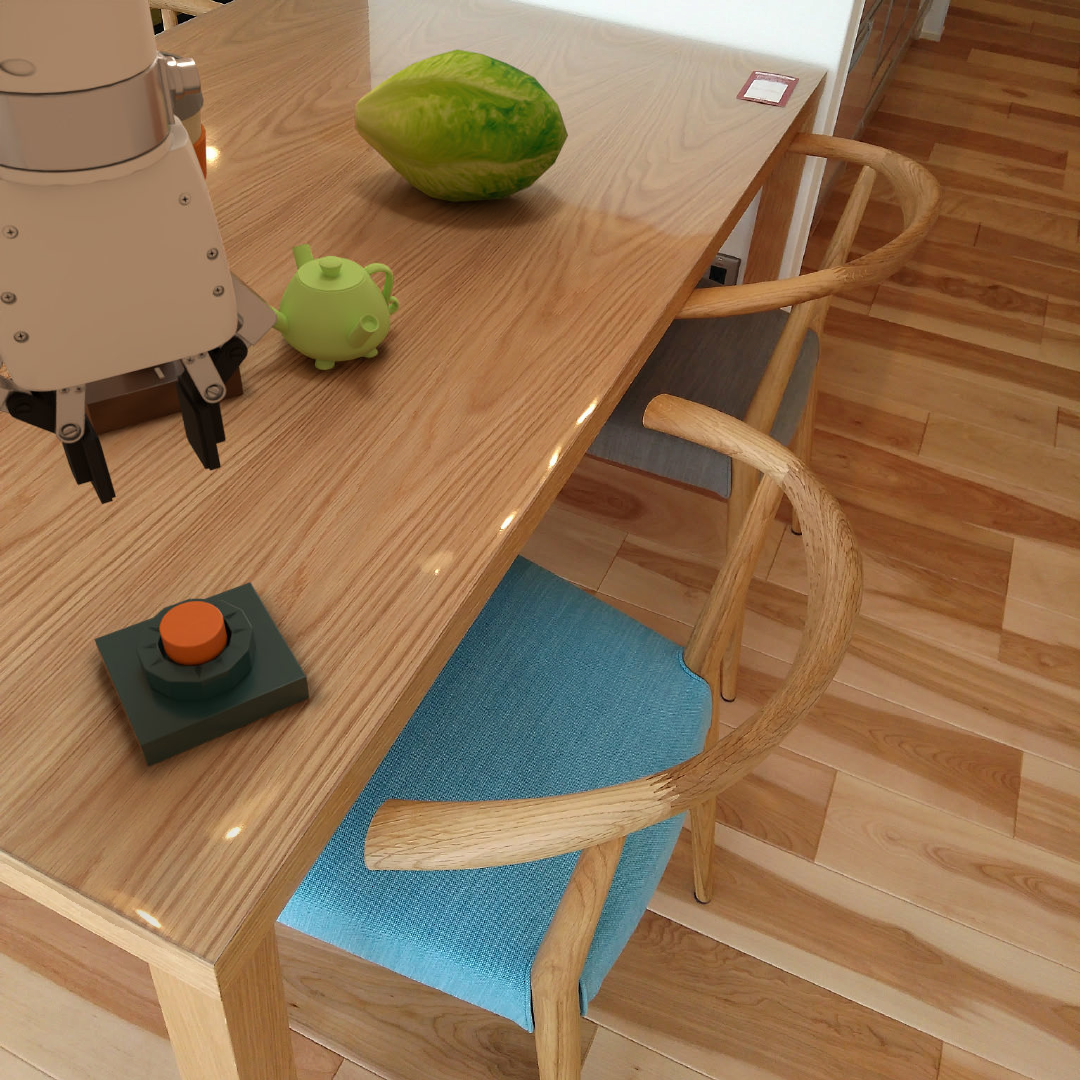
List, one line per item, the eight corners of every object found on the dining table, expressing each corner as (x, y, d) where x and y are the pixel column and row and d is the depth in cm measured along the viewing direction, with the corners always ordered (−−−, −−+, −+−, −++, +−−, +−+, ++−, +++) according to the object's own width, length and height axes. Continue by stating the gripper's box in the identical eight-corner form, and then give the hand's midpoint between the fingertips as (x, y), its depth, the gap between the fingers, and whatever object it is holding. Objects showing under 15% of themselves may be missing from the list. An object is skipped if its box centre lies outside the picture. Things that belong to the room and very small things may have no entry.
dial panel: (95, 435, 80) (86, 402, 77) (61, 369, 85) (51, 336, 83) (243, 393, 85) (238, 362, 83) (201, 334, 90) (196, 302, 88)
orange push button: (176, 674, 59) (171, 655, 58) (156, 633, 61) (150, 614, 60) (236, 651, 61) (232, 632, 60) (214, 612, 63) (210, 592, 62)
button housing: (148, 767, 59) (134, 727, 56) (102, 661, 64) (87, 619, 61) (309, 698, 63) (304, 657, 60) (254, 604, 68) (247, 562, 66)
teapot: (417, 325, 94) (416, 241, 88) (376, 395, 86) (372, 308, 80) (302, 303, 95) (293, 219, 89) (250, 370, 87) (237, 282, 81)
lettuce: (351, 214, 106) (363, 168, 119) (567, 224, 108) (556, 178, 121) (344, 63, 98) (358, 31, 110) (579, 77, 100) (567, 44, 112)
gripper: (240, 46, 45) (282, 386, 58) (-203, 103, 37) (-44, 478, 50) (310, 110, 41) (339, 462, 53) (-175, 187, 33) (-8, 575, 46)
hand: (152, 467), depth 52 cm, fingers open, 4 cm apart
